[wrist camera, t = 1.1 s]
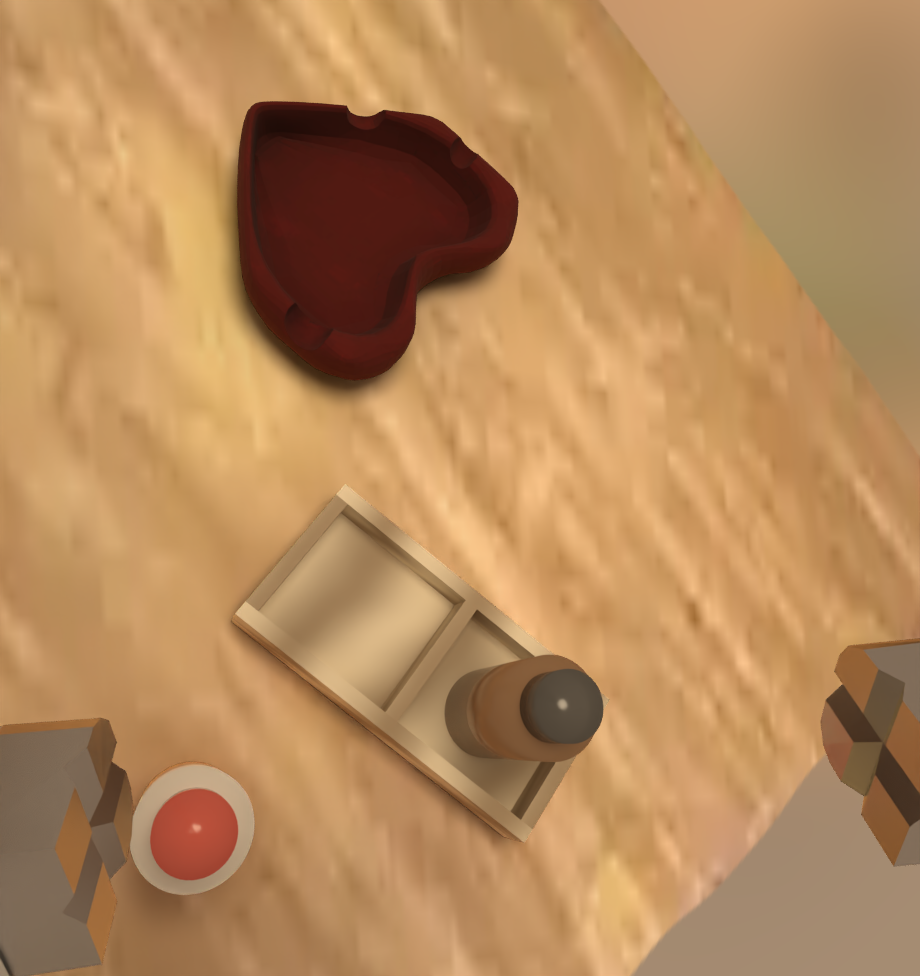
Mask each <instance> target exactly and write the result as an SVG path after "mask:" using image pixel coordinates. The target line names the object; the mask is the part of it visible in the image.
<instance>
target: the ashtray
mask: <svg viewBox="0 0 920 976" xmlns="http://www.w3.org/2000/svg"><path fill="white" fill-rule="evenodd" d="M237 207H238V229H239V245H240V261H241V269H242V277H243V280H244V284H245V288H246V291H247V293H248V295H249V298H250V300H251V302H252V304H253V306H254V307H255V309H256V311H257V312H258V314H259V315H260V317H261V318H262V319H263V321H264V322H265V324H266V325H267V327H268V328H269V329H270V330H271V331H272V332H273V333H274V334H275V335H276V336H277V337H278V338H279V339H280V340H282V341H283V342H284V343H285V344H286V345H287V346H288V347H290V348H291V349H292V350H293V351H294V352H295V353H297V354H298V355H299V356H300V357H301V358H302V359H303V360H305V361H306V362H307V363H309V364H310V365H311V366H313V367H314V368H316V369H318V370H320V371H322V372H324V373H327V374H330V375H333V376H337V377H340V378H344V379H348V380H362V379H368V378H371V377H375V376H377V375H380V374H382V373H384V372H385V371H387V370H389V369H390V368H391V367H392V366H393V365H394V364H395V363H396V362H397V361H398V360H399V359H400V358H401V356H402V355H403V354H404V352H405V351H406V349H407V347H408V345H409V343H410V341H411V339H412V337H413V334H414V330H415V324H416V298H417V292H418V291H419V290H421V289H422V288H423V287H424V286H425V285H427V284H428V283H430V282H431V281H433V280H435V279H437V278H439V277H442V276H445V275H448V274H456V273H468V272H472V271H475V270H478V269H481V268H483V267H485V266H487V265H489V264H491V263H492V262H494V261H495V260H497V259H498V258H499V257H500V256H501V255H502V254H503V253H504V252H505V250H506V249H507V248H508V246H509V245H510V243H511V240H512V237H513V234H514V230H515V226H516V222H517V216H518V197H517V194H516V192H515V190H514V188H513V187H512V186H511V185H510V184H509V183H508V182H507V181H506V180H505V179H504V178H503V177H502V176H501V175H500V174H499V173H498V172H497V171H496V170H495V169H494V168H493V167H492V166H490V165H489V164H488V163H487V162H486V161H485V160H484V159H483V158H481V157H480V156H479V155H478V154H476V153H474V152H473V151H471V150H470V149H469V148H468V147H467V146H466V145H465V144H464V143H463V141H462V139H461V138H460V137H459V136H458V135H457V134H456V133H455V132H453V131H452V130H451V129H450V128H449V127H448V126H446V125H445V124H444V123H443V122H441V121H439V120H438V119H435V118H433V117H431V116H426V115H421V114H413V113H405V112H397V111H388V110H383V111H381V112H379V113H377V114H375V115H373V116H367V117H364V116H357V115H354V114H352V113H351V112H350V111H349V109H348V108H347V106H344V105H333V104H321V103H306V102H279V101H270V102H259V103H255V104H254V105H253V106H251V108H250V109H249V110H248V112H247V114H246V117H245V120H244V123H243V128H242V134H241V140H240V148H239V159H238V181H237Z"/></svg>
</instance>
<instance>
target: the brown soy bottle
mask: <svg viewBox="0 0 920 976" xmlns="http://www.w3.org/2000/svg"><path fill="white" fill-rule="evenodd" d="M444 714H445V723H446V727H447V730H448V732H449V734H450V736H451V738H452V740H453V741H454V742H455V744H456V745H457V746H458V747H459V748H460V749H461V750H463V751H464V752H466V753H468V754H470V755H472V756H475V757H479V758H489V759H506V760H524V761H541V762H561V761H565V760H568V759H570V758H573V757H574V756H576V755H577V754H579V753H580V752H581V751H582V750H584V748H585V747H586V746H587V745H588V744H589V742H590V741H591V739H592V737H593V735H594V733H595V732H596V731H597V729H598V728H599V726H600V723H601V721H602V717H603V699H602V695H601V693H600V690H599V688H598V686H597V685H596V683H595V682H594V681H593V680H592V679H591V678H590V677H589V676H588V675H587V674H586V673H585V671H584V670H583V669H582V668H581V667H580V666H578V665H577V664H576V663H574V662H573V661H571V660H569V659H567V658H565V657H562V656H558V655H550V654H549V655H540V656H536V657H531V658H527V659H522V660H518V661H514V662H509V663H505V664H500V665H496V666H491V667H487V668H483V669H478V670H474V671H471V672H469V673H467V674H465V675H463V676H462V677H461V678H459V679H458V680H457V681H456V682H455V684H454V685H453V686H452V688H451V690H450V691H449V694H448V696H447V699H446V703H445V713H444Z"/></svg>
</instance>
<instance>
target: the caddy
mask: <svg viewBox="0 0 920 976" xmlns="http://www.w3.org/2000/svg"><path fill="white" fill-rule="evenodd" d="M231 622H233V623H234V624H235V625H236V626H238V627H239V628H240V629H242V630H243V631H244V632H245V633H247V634H248V635H249V636H250V637H252V638H253V639H254V640H255V641H257V642H258V643H259V644H260V645H262V646H263V647H264V648H266V649H267V650H268V651H269V652H271V653H272V654H273V655H274V656H276V657H277V658H278V659H279V660H281V661H282V662H283V663H284V664H286V665H287V666H288V667H290V668H291V669H292V670H293V671H295V672H296V673H297V674H298V675H300V676H301V677H302V678H303V679H305V680H306V681H307V682H309V683H310V684H311V685H312V686H314V687H315V688H316V689H317V690H319V691H320V692H321V693H322V694H324V695H325V696H326V697H327V698H329V699H330V700H331V701H333V702H334V703H335V704H336V705H338V706H339V707H340V708H341V709H343V710H344V711H345V712H346V713H348V714H349V715H350V716H351V717H353V718H354V719H355V720H357V721H358V722H359V723H360V724H362V725H363V726H364V727H365V728H367V729H368V730H369V731H370V732H372V733H373V734H374V735H375V736H377V737H378V738H379V739H381V740H382V741H383V742H384V743H386V744H387V745H388V746H389V747H391V748H392V749H393V750H394V751H396V752H397V753H398V754H400V755H401V756H402V757H403V758H405V759H406V760H407V761H408V762H410V763H411V764H412V765H413V766H415V767H416V768H417V769H418V770H420V771H421V772H422V773H424V774H425V775H426V776H427V777H429V778H430V779H431V780H432V781H434V782H435V783H436V784H437V785H439V786H440V787H441V788H442V789H444V790H445V791H446V792H448V793H449V794H450V795H451V796H453V797H454V798H455V799H456V800H458V801H459V802H460V803H461V804H463V805H464V806H465V807H467V808H468V809H469V810H470V811H472V812H473V813H474V814H475V815H477V816H478V817H479V818H480V819H482V820H483V821H484V822H485V823H487V824H488V825H489V826H491V827H492V828H493V829H494V830H496V831H497V832H498V833H499V834H501V835H502V836H503V837H506V838H509V839H512V840H516V841H519V842H523V843H525V841H526V840H527V838H528V836H529V835H530V833H531V831H532V830H533V828H534V826H535V824H536V823H537V821H538V819H539V818H540V816H541V814H542V813H543V811H544V809H545V808H546V806H547V804H548V803H549V801H550V799H551V798H552V796H553V794H554V793H555V791H556V789H557V787H558V786H559V784H560V782H561V781H562V779H563V777H564V776H565V774H566V772H567V771H568V769H569V767H570V766H571V764H572V762H573V761H574V759H575V757H576V756H574V757H573V758H570V759H568V760H565V761H561V762H541V761H524V760H506V759H489V758H479V757H475V756H472V755H470V754H468V753H466V752H464V751H463V750H461V749H460V748H459V747H458V746H457V745H456V744H455V742H454V741H453V740H452V738H451V736H450V734H449V732H448V730H447V727H446V723H445V714H444V713H445V703H446V699H447V696H448V694H449V691H450V690H451V688H452V686H453V685H454V684H455V682H456V681H457V680H458V679H459V678H461V677H462V676H463V675H465V674H467V673H469V672H471V671H474V670H478V669H483V668H487V667H491V666H496V665H500V664H505V663H509V662H514V661H518V660H522V659H527V658H531V657H536V656H540V655H549V654H550V655H554V654H553V653H552V652H551V651H549V650H548V649H547V648H546V647H544V646H543V645H542V644H541V643H540V642H538V641H537V640H536V639H535V638H533V637H532V636H531V635H530V634H529V633H527V632H526V631H525V630H524V629H522V628H521V627H520V626H519V625H518V624H516V623H515V622H514V621H513V620H511V619H510V618H509V617H508V616H507V615H505V614H504V613H503V612H502V611H500V610H499V609H498V608H497V607H496V606H494V605H493V604H492V603H491V602H489V601H488V600H487V599H486V598H484V597H483V596H482V595H481V594H480V593H478V592H477V591H476V590H475V589H473V588H472V587H471V586H470V585H469V584H467V583H466V582H465V581H464V580H462V579H461V578H460V577H459V576H458V575H456V574H455V573H454V572H453V571H451V570H450V569H449V568H448V567H447V566H445V565H444V564H443V563H442V562H440V561H439V560H438V559H437V558H436V557H434V556H433V555H432V554H431V553H429V552H428V551H427V550H426V549H424V548H423V547H422V546H421V545H420V544H418V543H417V542H416V541H415V540H413V539H412V538H411V537H410V536H409V535H407V534H406V533H405V532H404V531H402V530H401V529H400V528H399V527H398V526H396V525H395V524H394V523H393V522H391V521H390V520H389V519H388V518H387V517H385V516H384V515H383V514H382V513H380V512H379V511H378V510H377V509H376V508H374V507H373V506H372V505H371V504H369V503H368V502H367V501H366V500H365V499H363V498H362V497H361V496H360V495H358V494H357V493H356V492H355V491H353V490H352V489H351V488H350V487H349V486H347V485H346V484H345V485H344V486H343V487H342V488H341V489H340V491H339V492H338V493H337V494H336V495H335V497H334V498H333V499H332V500H331V501H330V502H329V504H328V505H327V506H326V507H325V508H324V509H323V511H322V512H321V513H320V514H319V515H318V517H317V518H316V519H315V520H314V521H313V522H312V524H311V525H310V526H309V527H308V528H307V530H306V531H305V532H304V533H303V534H302V535H301V537H300V538H299V539H298V540H297V541H296V542H295V544H294V545H293V546H292V547H291V548H290V550H289V551H288V552H287V553H286V554H285V555H284V557H283V558H282V559H281V560H280V561H279V562H278V564H277V565H276V566H275V567H274V568H273V570H272V571H271V572H270V573H269V574H268V575H267V577H266V578H265V579H264V580H263V581H262V583H261V584H260V585H259V586H258V587H257V588H256V590H255V591H254V592H253V593H252V594H251V595H250V597H249V598H248V599H247V600H246V601H245V603H244V604H243V605H242V606H241V607H240V608H239V610H238V611H237V612H236V613H235V615H234V617H233V618H232V620H231ZM600 693H601V692H600ZM601 695H602V699H603V710H604V708H605V707H606V705H607V703H608V702H609V699H608V698H607V697H606V696H604V695H603V694H602V693H601Z"/></svg>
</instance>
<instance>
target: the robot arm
mask: <svg viewBox="0 0 920 976" xmlns="http://www.w3.org/2000/svg"><path fill="white" fill-rule="evenodd" d="M834 672H835V673H836V675H837V676H838V678H839V679H840V681H841V682H842V685H841V686H840V687H839V688H838V689H837V690H836V691H835V692H834V693H833V694H832V695H830V696H829V697H828V698H827V699H826V701H825V705H824V709H823V713H822V717H821V730H822V739H823V746H824V748H825V751H826V754H827V756H828V759H829V762H830V764H831V766H832V767H833V769H834V771H835V772H836V774H837V776H838V777H839V779H840V780H841V782H843V783H844V784H846V785H847V786H849V787H850V788H852V789H854V790H855V791H857V792H858V793H860V794H861V795H863V796H864V800H863V806H862V813H861V815H862V816H863V818H864V820H865V821H866V823H867V825H868V826H869V828H870V829H871V831H872V833H873V834H874V836H875V837H876V839H877V840H878V842H879V844H880V845H881V847H882V848H883V850H884V852H885V853H886V855H887V856H888V858H889V860H890V861H891V863H892V864H893V866H905V865H916V864H920V638H916V639H906V640H897V641H887V642H878V643H869V644H859V645H850V646H847V648H846V649H845V650H844V651H843V652H842V653H841V654H840V655H839V658H838V661H837V664H836V668H835V671H834ZM116 743H117V742H116V739H115V736H114V734H113V731H112V728H111V725H110V723H109V720H106V719H102V718H94V719H80V720H66V721H52V722H38V723H24V724H10V725H3V726H0V976H29V975H36V974H42V973H49V972H56V971H62V970H69V969H75V968H82V967H89V966H95V965H102V963H103V959H104V955H105V951H106V946H107V942H108V938H109V934H110V929H111V925H112V921H113V917H114V913H115V908H116V904H117V899H116V897H115V894H114V891H113V888H112V885H111V882H110V878H111V877H112V876H113V875H114V874H115V873H116V872H117V871H118V870H119V869H120V868H121V867H122V866H123V865H124V864H125V863H126V861H127V856H128V851H129V847H130V842H131V837H132V821H133V802H132V794H131V787H130V784H129V780H128V777H127V773H126V771H125V770H123V769H122V768H120V767H119V766H117V765H116V764H114V763H113V762H112V758H113V754H114V751H115V747H116Z"/></svg>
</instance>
